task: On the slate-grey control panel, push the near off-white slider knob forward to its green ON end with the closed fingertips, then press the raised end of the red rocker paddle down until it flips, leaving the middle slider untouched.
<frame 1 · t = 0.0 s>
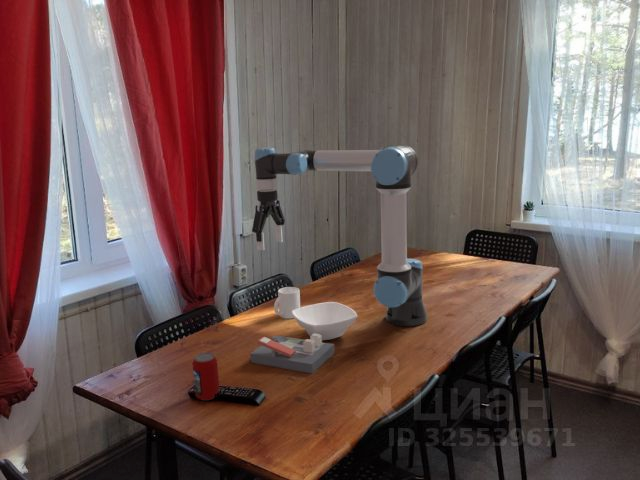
hand: (270, 245, 215), 28 cm above the table, fingers open, 13 cm apart
mug: (286, 317, 219), on the table
beverage can: (207, 396, 160), on the table
slider C: (309, 345, 179), point 5 cm above the table, slide at 0.0 cm
panel: (293, 357, 183), on the table
slider B: (316, 339, 184), point 5 cm above the table, slide at 0.0 cm
rocker: (276, 346, 179), point 5 cm above the table, hinge at -14.0°
bowl: (325, 336, 200), on the table
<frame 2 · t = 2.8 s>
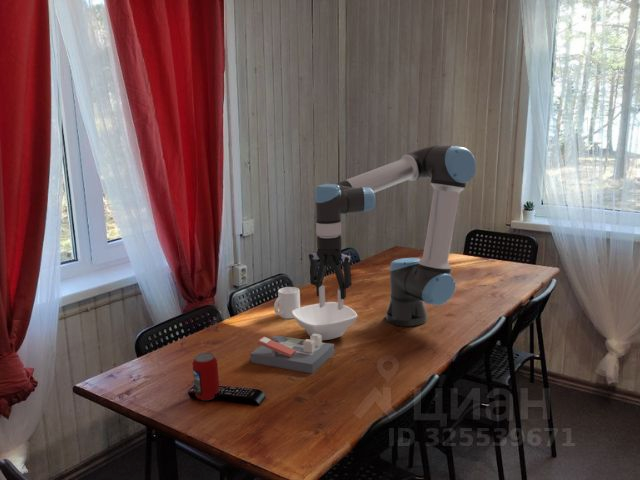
hand: (331, 307, 178), 17 cm above the table, fingers open, 6 cm apart
nothing on the table moved.
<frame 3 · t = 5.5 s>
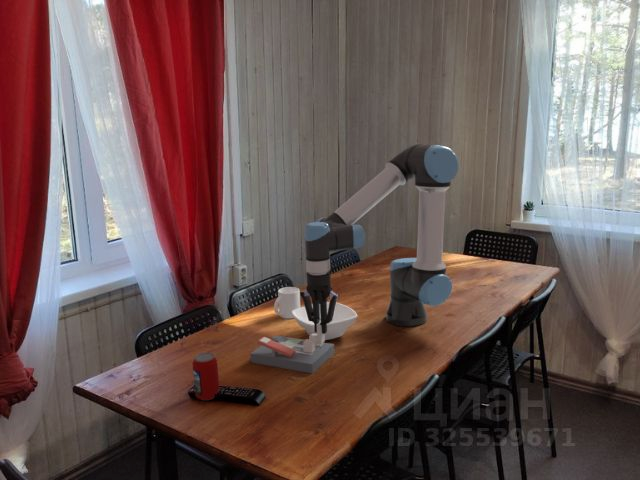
hand: (321, 342, 183), 4 cm above the table, fingers closed
slider B: (315, 339, 184), point 5 cm above the table, slide at 0.4 cm, touching gripper
everything else where it was.
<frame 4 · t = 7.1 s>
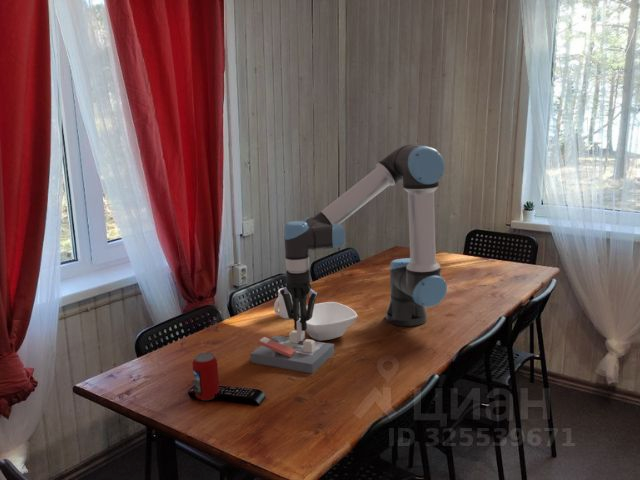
hand: (301, 339, 186), 4 cm above the table, fingers closed
slider B: (295, 336, 187), point 5 cm above the table, slide at 7.6 cm, touching gripper
everything else where it was.
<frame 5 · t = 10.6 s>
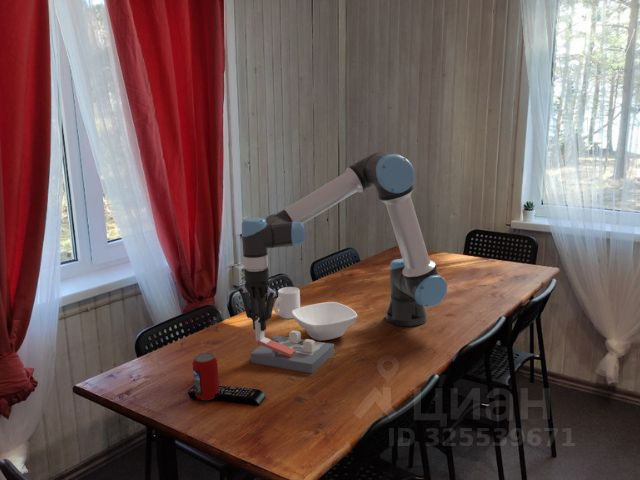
hand: (260, 339, 181), 7 cm above the table, fingers closed
slider B: (295, 336, 187), point 5 cm above the table, slide at 7.7 cm
rocker: (276, 346, 179), point 5 cm above the table, hinge at -13.3°, touching gripper
everything else where it was.
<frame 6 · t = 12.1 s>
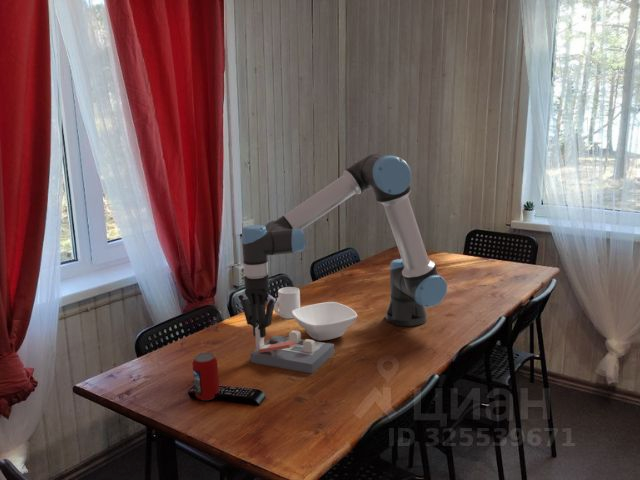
hand: (260, 346, 181), 5 cm above the table, fingers closed
rocker: (276, 346, 179), point 5 cm above the table, hinge at 17.2°, touching gripper
everything else where it was.
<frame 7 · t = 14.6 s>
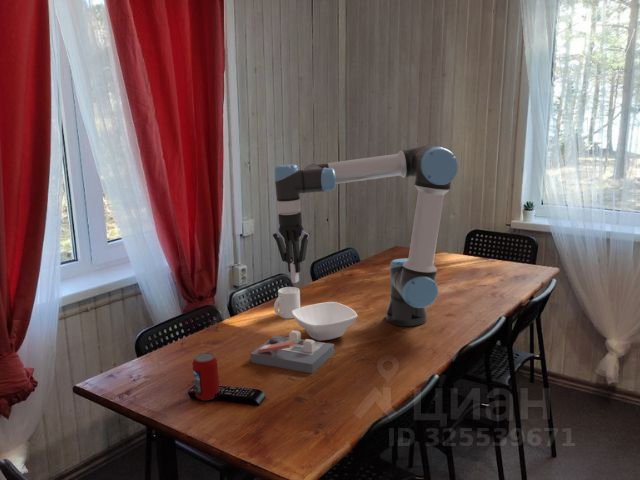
hand: (295, 281, 190), 22 cm above the table, fingers closed
rocker: (276, 346, 179), point 5 cm above the table, hinge at 17.9°, touching panel
everything else where it was.
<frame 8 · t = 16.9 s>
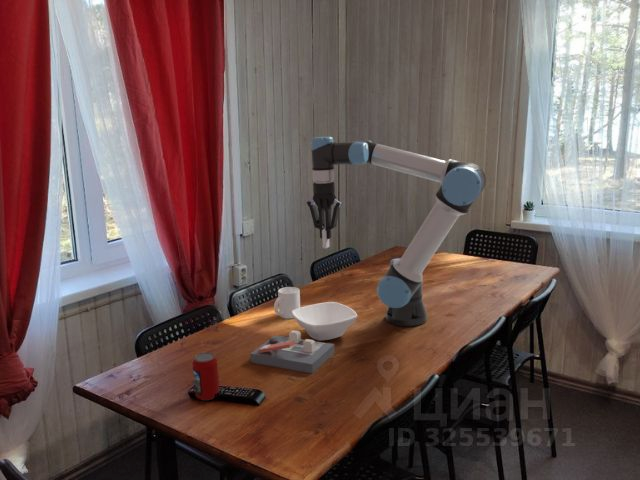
hand: (326, 247, 203), 29 cm above the table, fingers closed
nothing on the table moved.
at the end: slider B slide at 7.7 cm; rocker at +18° (first picture: -14°); slider C slide at 0.0 cm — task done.
